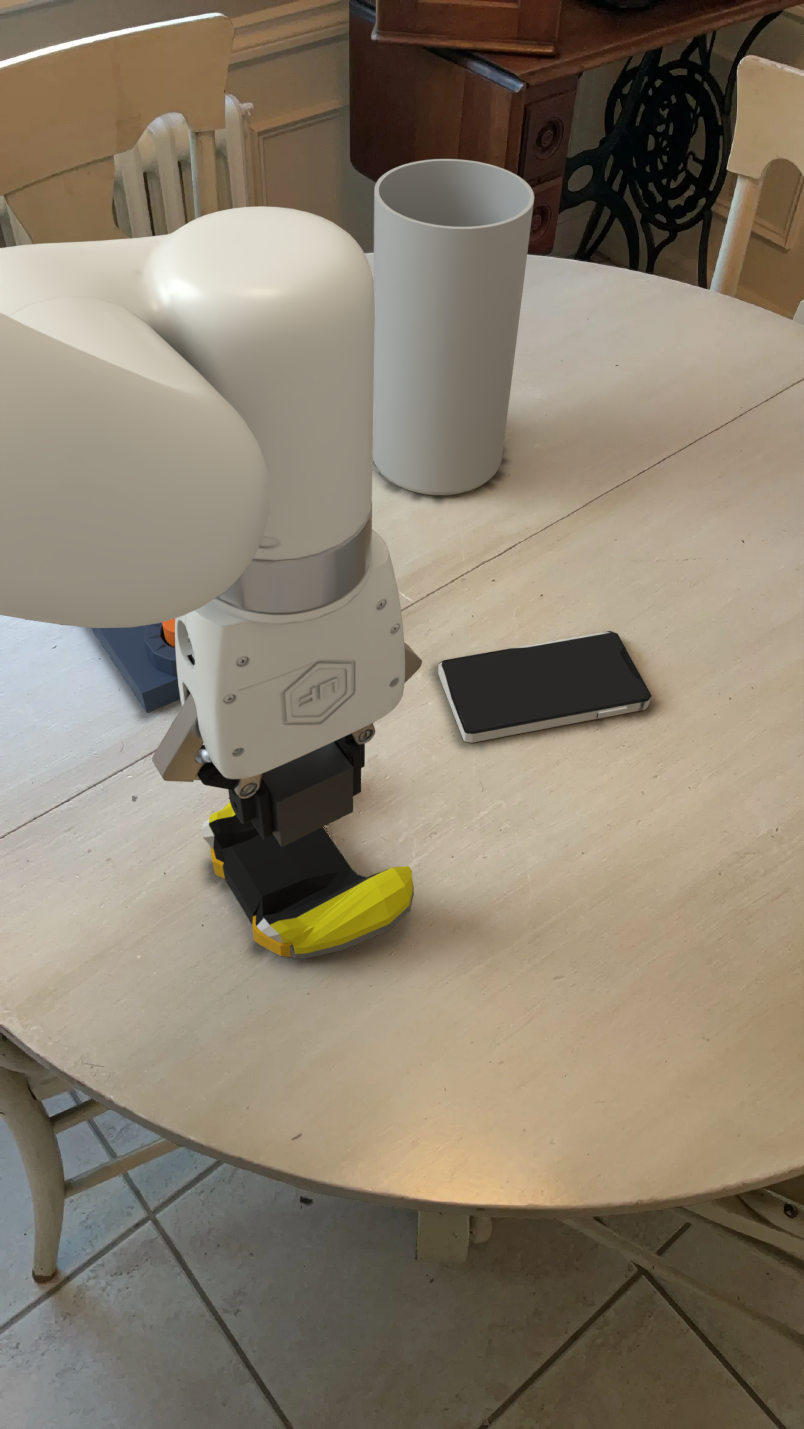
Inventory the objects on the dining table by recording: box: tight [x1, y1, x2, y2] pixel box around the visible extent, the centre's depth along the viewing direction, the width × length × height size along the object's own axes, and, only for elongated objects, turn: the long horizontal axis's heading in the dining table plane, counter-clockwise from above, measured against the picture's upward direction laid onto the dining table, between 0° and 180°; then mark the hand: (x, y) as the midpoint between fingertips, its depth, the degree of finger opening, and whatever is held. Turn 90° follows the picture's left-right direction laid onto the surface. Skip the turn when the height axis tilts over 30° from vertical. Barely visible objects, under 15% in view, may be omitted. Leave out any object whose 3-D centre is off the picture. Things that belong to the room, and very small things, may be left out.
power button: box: [162, 619, 175, 647], centre depth 79 cm, size 3×3×2 cm
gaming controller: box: [200, 801, 415, 959], centre depth 68 cm, size 15×6×10 cm
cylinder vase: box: [372, 158, 535, 496], centre depth 92 cm, size 12×12×25 cm
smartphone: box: [437, 630, 653, 743], centre depth 82 cm, size 8×1×15 cm
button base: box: [90, 622, 180, 713], centre depth 83 cm, size 15×10×4 cm
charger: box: [262, 742, 354, 847], centre depth 56 cm, size 5×4×4 cm
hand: (299, 795), depth 57 cm, fingers closed on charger, 4 cm apart
